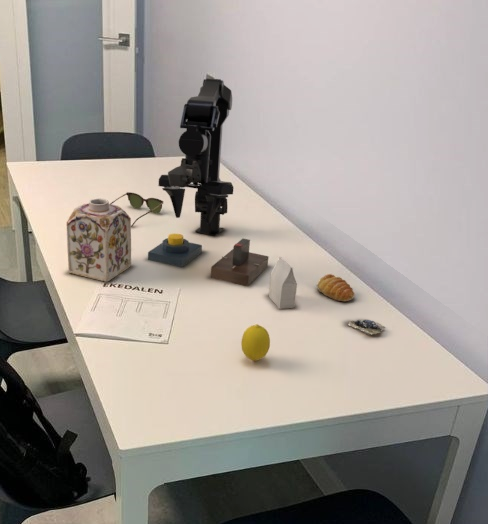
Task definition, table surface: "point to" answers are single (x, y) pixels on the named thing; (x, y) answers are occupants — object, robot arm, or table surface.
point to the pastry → (335, 288)
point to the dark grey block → (241, 252)
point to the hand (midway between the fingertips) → (192, 220)
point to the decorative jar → (99, 240)
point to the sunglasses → (138, 201)
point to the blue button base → (175, 253)
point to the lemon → (255, 342)
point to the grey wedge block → (283, 285)
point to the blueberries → (367, 326)
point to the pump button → (175, 239)
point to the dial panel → (239, 269)
